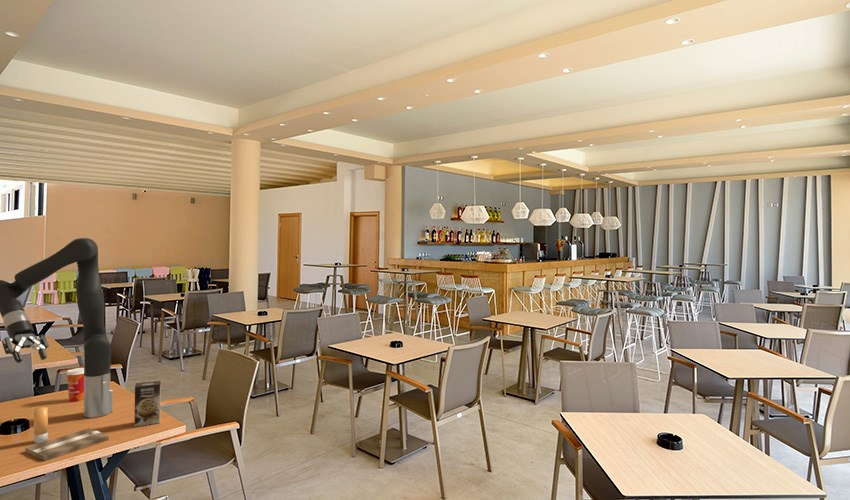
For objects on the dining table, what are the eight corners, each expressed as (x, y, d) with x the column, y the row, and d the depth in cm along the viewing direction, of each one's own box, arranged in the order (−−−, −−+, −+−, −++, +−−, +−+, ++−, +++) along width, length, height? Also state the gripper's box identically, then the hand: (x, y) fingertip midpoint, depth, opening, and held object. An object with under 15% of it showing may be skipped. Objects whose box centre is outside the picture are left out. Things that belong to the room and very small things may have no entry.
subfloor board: (88, 432, 183) (88, 427, 183) (108, 439, 176) (108, 434, 176) (25, 451, 165) (25, 446, 165) (44, 461, 158) (44, 455, 158)
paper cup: (62, 401, 218) (62, 371, 217) (80, 396, 225) (79, 367, 225) (73, 403, 215) (73, 372, 214) (90, 398, 222) (90, 368, 222)
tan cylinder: (44, 438, 177) (44, 406, 177) (50, 440, 175) (49, 408, 175) (31, 442, 173) (31, 409, 173) (37, 444, 171) (36, 411, 171)
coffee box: (134, 427, 188) (133, 386, 187) (135, 421, 193) (135, 382, 193) (160, 423, 192) (160, 383, 192) (160, 418, 198) (160, 379, 197)
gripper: (3, 320, 178) (18, 357, 174) (43, 318, 191) (58, 352, 187) (-10, 331, 179) (5, 368, 175) (31, 329, 193) (45, 363, 189)
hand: (32, 360), depth 181 cm, fingers open, 8 cm apart
